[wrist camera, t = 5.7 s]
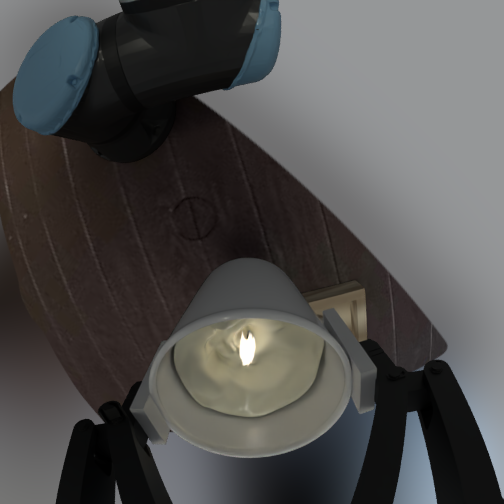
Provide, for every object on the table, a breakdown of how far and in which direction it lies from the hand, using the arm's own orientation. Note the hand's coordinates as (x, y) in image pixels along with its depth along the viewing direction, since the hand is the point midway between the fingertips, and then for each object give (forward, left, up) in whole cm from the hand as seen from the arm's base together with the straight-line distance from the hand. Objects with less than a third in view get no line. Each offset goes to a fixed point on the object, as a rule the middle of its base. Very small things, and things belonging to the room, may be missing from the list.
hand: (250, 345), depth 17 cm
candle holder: (0, 0, -7) cm, 7 cm away
